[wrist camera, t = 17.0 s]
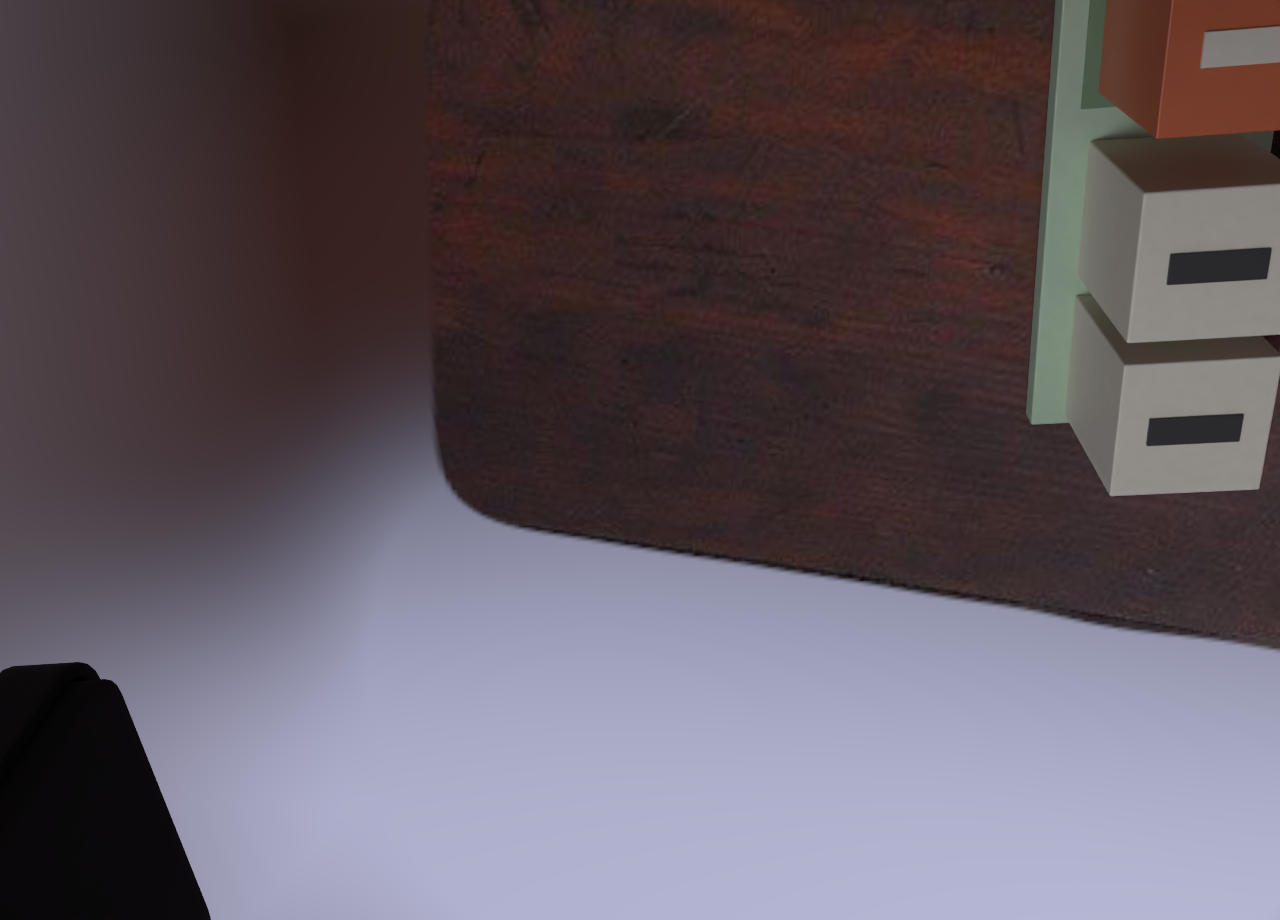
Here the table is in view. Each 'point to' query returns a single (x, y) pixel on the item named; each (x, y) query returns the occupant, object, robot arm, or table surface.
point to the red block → (1193, 65)
